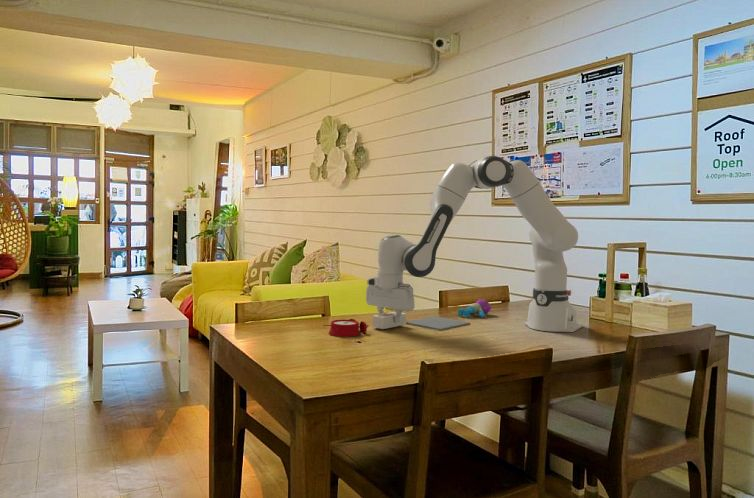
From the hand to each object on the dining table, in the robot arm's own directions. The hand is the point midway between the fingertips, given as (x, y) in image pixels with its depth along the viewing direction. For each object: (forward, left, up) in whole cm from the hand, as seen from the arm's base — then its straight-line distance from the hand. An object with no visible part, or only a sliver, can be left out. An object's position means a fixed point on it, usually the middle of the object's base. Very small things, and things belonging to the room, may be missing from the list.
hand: (389, 320), depth 209 cm
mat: (-19, +7, -2) cm, 20 cm away
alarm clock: (+17, -3, -3) cm, 18 cm away
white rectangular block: (0, 0, -2) cm, 2 cm away
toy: (-44, +6, -3) cm, 45 cm away
